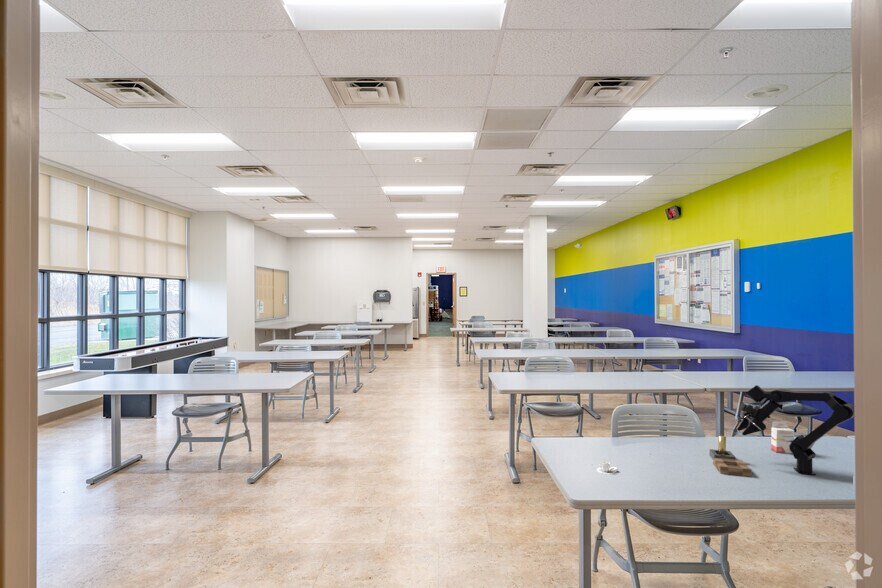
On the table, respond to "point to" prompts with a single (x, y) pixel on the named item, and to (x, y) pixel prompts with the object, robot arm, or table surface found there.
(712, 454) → the socket block
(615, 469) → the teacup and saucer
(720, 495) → the table surface
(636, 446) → the table surface
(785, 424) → the ink cartridge box
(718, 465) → the wooden square frame
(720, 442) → the brass cylinder
